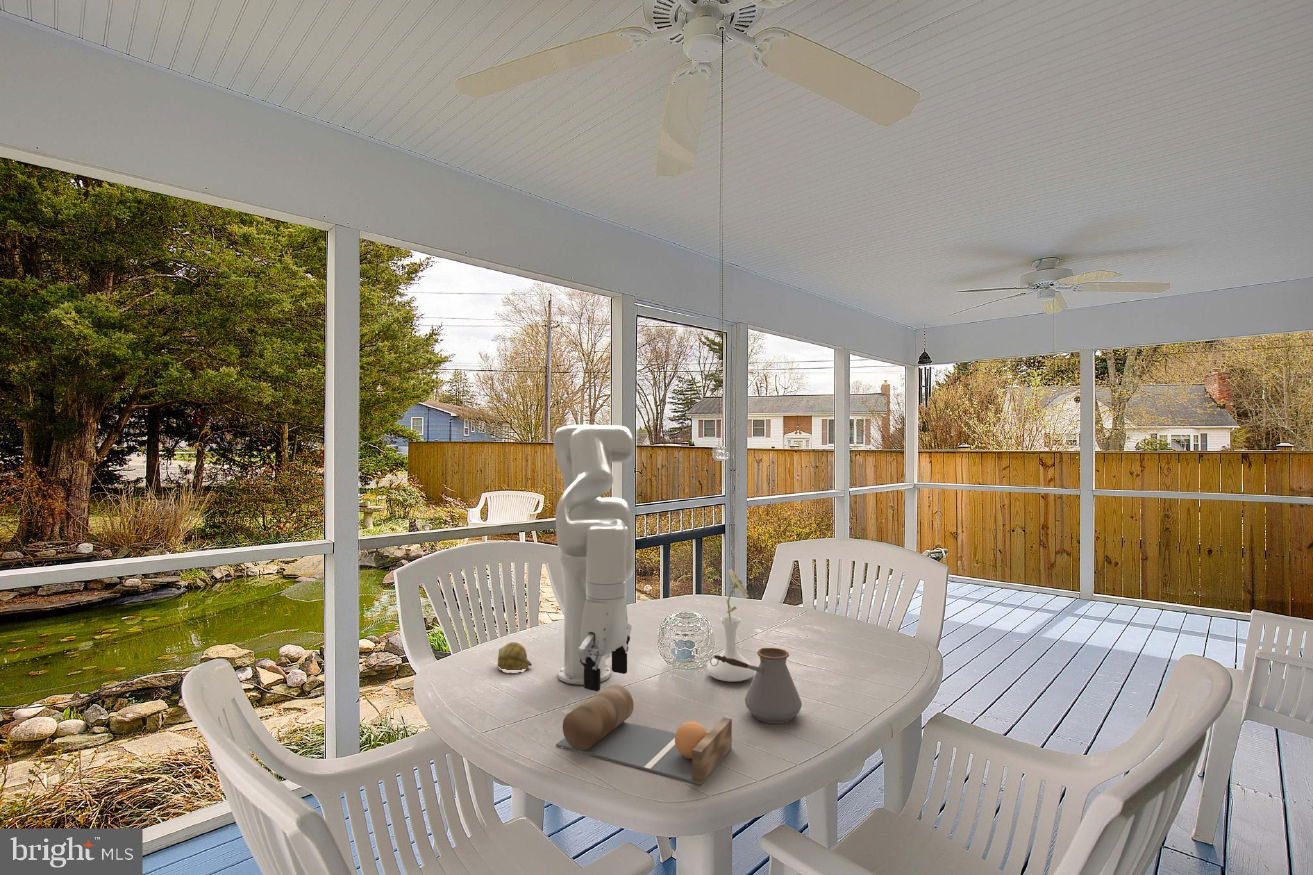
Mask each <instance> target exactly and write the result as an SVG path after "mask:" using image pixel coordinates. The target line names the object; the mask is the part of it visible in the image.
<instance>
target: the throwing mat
mask: <svg viewBox="0 0 1313 875" xmlns="http://www.w3.org/2000/svg"><path fill="white" fill-rule="evenodd" d="M675 735H676V732H673V731H672V732H671V731H667V730H663V729H659V728H655V727H650V726H646V725H641V724H637V723H633V722H629V721H624V722H622V723H621V724H620V725H619V726H617V727H616V728H615V729H613V730H612V731H611V732H609V733H608V734H607V735H606V736H604V737H603V738H602V739H600V740H599V741H598V742H596V743H595V744H594V745H593V746H591V747H590V748H589V749H587V750H583V751H582V750H577V749H575V748H573V747H572V746H571V745H570V744H569V743H568V742H567V740H566V738H565V737H564V738H562V739H561V740H559V741H558V742H557V743H555V746H556V747H557V746H558V747H557V748H561V747H563V748H562V749H564V748H565V750H568V749H569V751H573V752H576V753H581V754H583V755H584V754H585V755H587V756H590V757H591V756H592V757H595V758H598V759H603V760H607V761H611V762H614V763H617V764H621V765H625V766H629V767H632V768H636V769H641V770H643V771H646V772H651V773H655V774H659V775H662V776H666V777H669V778H673V779H677V780H681V781H685V782H687V783H693V784H696V785H699V786H702V785H703V784H704V782H706V780H707V779H708V778H709V776H710V775H711V774H712V773H713V772H714V770H715V769H716V768H717V767H718V765H719V764H720V763H721V762H722V761H723V760H724V759H725V757H726V756H728V754H729V753H730V751H731V750H732V749H733V746H732V747H731V748H730V749H729V750H728V751H727V753H726V754H725V755H724V756H723V757H722V759H721V760H720V761H719V762H718V763H717V764H716V766H715V767H714V768H713V769H712V770H711V772H710V773H709V774H708V775H707V776H706V778H705V779H704V780H703V781H702V782H697V781H693V780H692V759H688V758H685V757H684V756H682V755H681V754H680V753H679V752H678V750H677V748H676V745H675Z"/></svg>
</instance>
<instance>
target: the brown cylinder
mask: <svg viewBox="0 0 1313 875" xmlns="http://www.w3.org/2000/svg"><path fill="white" fill-rule="evenodd" d="M633 711H634V699H633V697H632V695H631V693H630V691H629V690H628V688H626V687H624V686H622V685H620V684H611V685H609V686H608V687H607V688H605V689H603V690H602V691H599V692H598V693H597V694H595V695H594V696H592V697H591V698H589V699H588V700H586V701H585V702H583V703H581V705H579V706H576V707H575V708H574V709H572V710H571V711H569V713H566V715H565V716H564V718H563V720H562V733H563V736H564V738H566V740H567V742H568V743H569V744H570V745H571V746H572V747H573V748H575V749H577V750H582V751H583V750H587V749H589V748H590V747H591V746H593V745H594V744H595V743H596V742H598V741H599V740H600V739H602V738H603V737H604V736H606V735H607V734H608V733H609V732H611V731H612V730H613V729H615V728H616V727H617V726H619V725H620V724H621V723H622V722H626V720H627V719H629V718H630V717H631V716H632V714H633Z"/></svg>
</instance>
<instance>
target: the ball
mask: <svg viewBox="0 0 1313 875" xmlns="http://www.w3.org/2000/svg"><path fill="white" fill-rule="evenodd" d="M675 733H676V735H675V745H676V748H677V750H678V752H679V753H680V754H681V755H682V756H684V757H685V758H688V759H692V750H693V749H694V748H695V746H696V745H697V744H698V743H699V742H700V741H701V740H702V739H703V738H704V737H705V736H706V735H707V734H708V733H709V732H708V731H707V729H706V728H705V727H704V726H703V725H702V724H700V723H699V722H697V721H687V722H684V723H683V724H681V725H680V726H679V727H678V728H677V731H676V732H675Z"/></svg>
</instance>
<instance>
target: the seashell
mask: <svg viewBox="0 0 1313 875" xmlns="http://www.w3.org/2000/svg"><path fill="white" fill-rule="evenodd" d="M497 657H498V658H497V667H498V666H499V667H500V668H501V669H506V670H522V669H526V670H528V668H529V667H531V666H533V664H532V663H531V661H530V660H529V659H528V654H527V651H526V648H525V646H523V645H522V644H521V643H518V642H508V643H506V644H505V645H504V646H502V647H500V648H499V649H498V656H497ZM529 665H530V666H529Z"/></svg>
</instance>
